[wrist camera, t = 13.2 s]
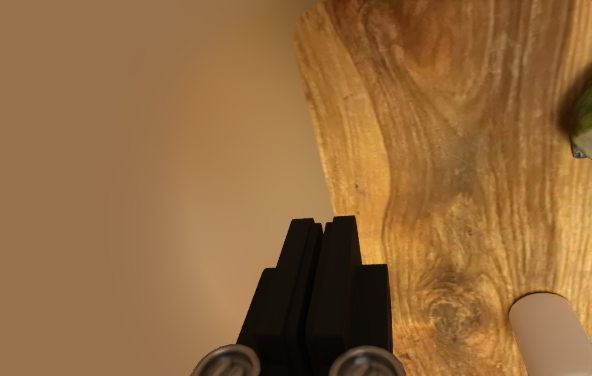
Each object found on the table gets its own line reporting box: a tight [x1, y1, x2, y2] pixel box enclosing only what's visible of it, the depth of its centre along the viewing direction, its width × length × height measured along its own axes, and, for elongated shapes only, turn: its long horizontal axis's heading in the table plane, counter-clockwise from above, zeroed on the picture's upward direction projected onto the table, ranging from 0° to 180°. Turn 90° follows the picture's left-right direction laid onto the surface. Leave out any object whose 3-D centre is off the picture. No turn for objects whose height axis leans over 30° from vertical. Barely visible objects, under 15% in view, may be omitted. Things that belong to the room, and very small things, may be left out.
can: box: [509, 293, 592, 376], centre depth 41 cm, size 6×6×12 cm
